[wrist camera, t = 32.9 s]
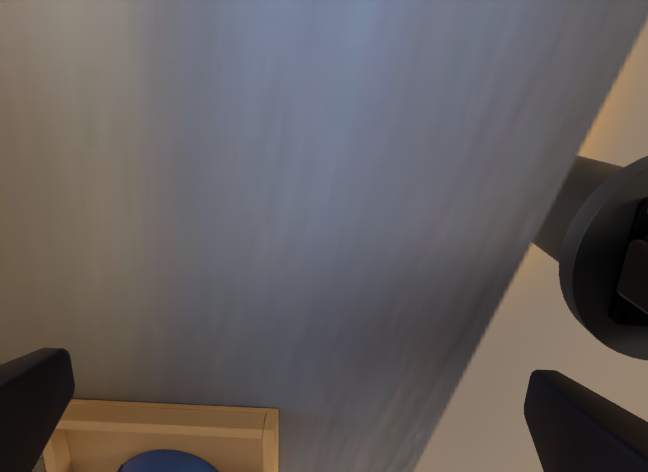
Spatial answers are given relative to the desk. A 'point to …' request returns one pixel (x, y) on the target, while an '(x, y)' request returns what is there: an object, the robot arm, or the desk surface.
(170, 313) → the desk surface
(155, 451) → the jar lid
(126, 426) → the tray
